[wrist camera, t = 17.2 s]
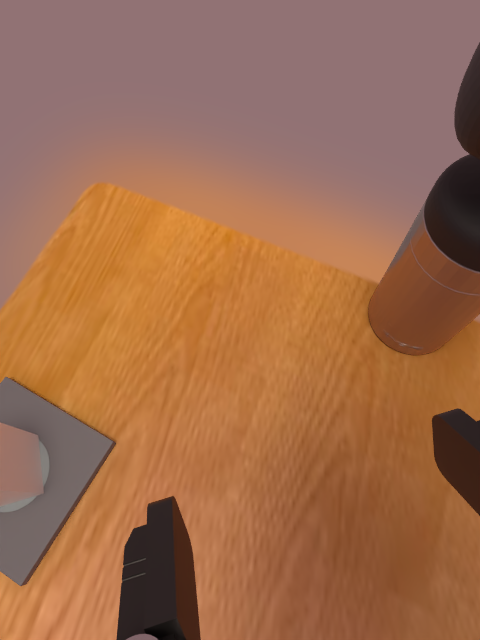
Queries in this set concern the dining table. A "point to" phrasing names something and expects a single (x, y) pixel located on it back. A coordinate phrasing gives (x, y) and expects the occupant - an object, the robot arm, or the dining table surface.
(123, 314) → the dining table surface
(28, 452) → the sleeve
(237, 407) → the dining table surface
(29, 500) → the post plate
